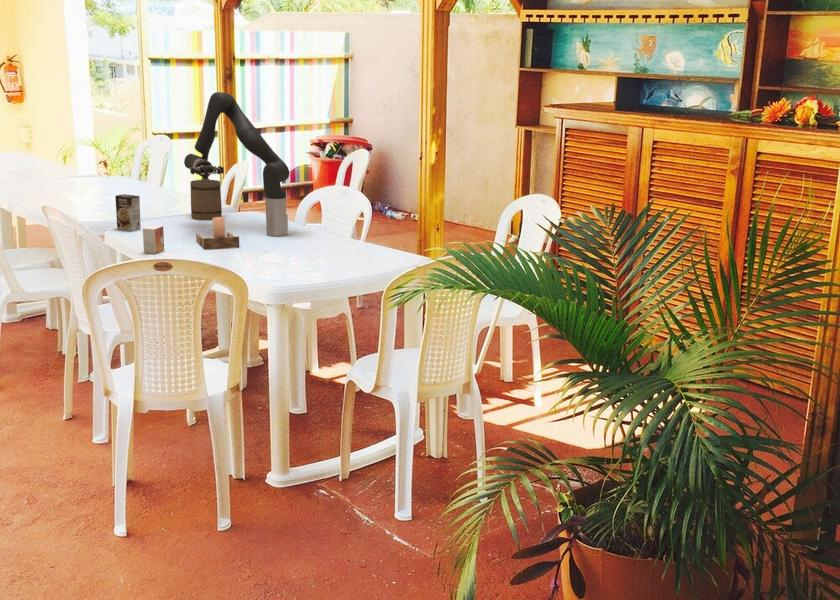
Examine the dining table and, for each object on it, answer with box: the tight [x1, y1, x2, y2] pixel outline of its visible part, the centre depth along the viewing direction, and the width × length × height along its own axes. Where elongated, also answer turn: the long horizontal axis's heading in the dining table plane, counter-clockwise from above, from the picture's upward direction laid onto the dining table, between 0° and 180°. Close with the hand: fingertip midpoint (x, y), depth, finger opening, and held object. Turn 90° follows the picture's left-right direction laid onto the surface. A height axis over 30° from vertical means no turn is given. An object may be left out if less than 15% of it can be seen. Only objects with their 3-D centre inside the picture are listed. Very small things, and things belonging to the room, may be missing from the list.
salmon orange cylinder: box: [212, 216, 226, 238], centre depth 408 cm, size 5×5×12 cm
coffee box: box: [115, 193, 142, 232], centre depth 438 cm, size 9×6×16 cm
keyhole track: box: [195, 232, 240, 251], centre depth 414 cm, size 15×18×5 cm
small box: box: [142, 225, 165, 255], centre depth 396 cm, size 8×6×10 cm
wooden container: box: [189, 176, 223, 221], centre depth 471 cm, size 15×15×22 cm
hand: (210, 172), depth 416 cm, fingers open, 8 cm apart
